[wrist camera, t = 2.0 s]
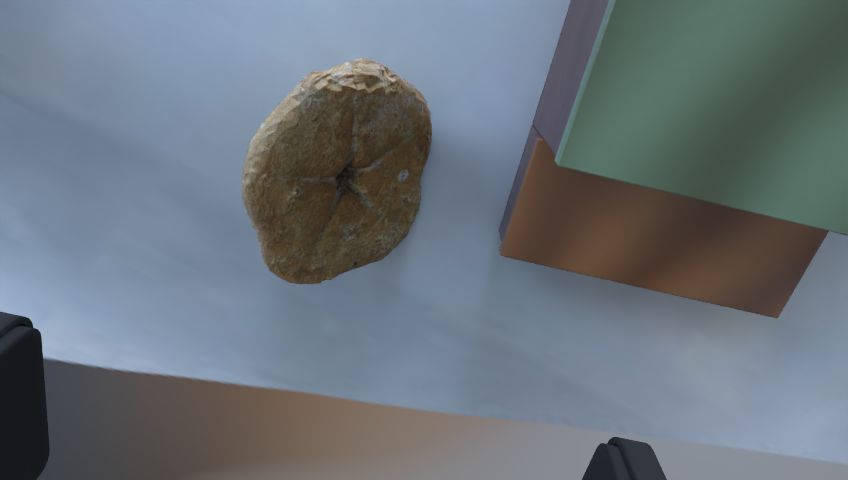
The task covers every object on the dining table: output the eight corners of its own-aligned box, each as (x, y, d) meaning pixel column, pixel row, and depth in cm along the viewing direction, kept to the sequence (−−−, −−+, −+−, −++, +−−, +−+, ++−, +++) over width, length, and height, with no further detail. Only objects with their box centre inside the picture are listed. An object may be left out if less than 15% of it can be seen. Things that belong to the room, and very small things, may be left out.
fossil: (268, 319, 23) (236, 89, 17) (225, 265, 26) (184, 49, 20) (431, 246, 28) (450, 47, 22) (381, 207, 31) (386, 19, 25)
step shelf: (494, 230, 27) (524, 365, 17) (701, -435, 18) (1040, -996, 8) (745, 287, 28) (912, 448, 18) (1073, -316, 19) (1814, -680, 9)
